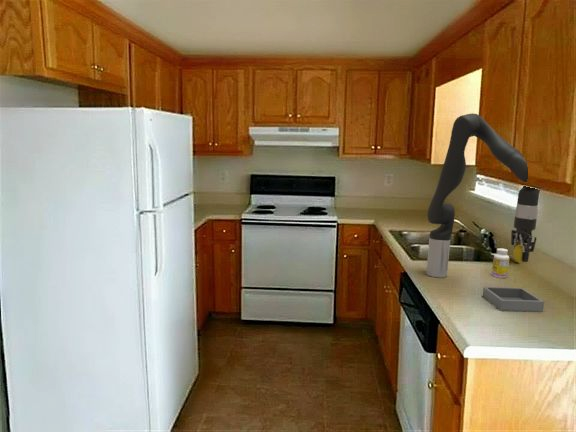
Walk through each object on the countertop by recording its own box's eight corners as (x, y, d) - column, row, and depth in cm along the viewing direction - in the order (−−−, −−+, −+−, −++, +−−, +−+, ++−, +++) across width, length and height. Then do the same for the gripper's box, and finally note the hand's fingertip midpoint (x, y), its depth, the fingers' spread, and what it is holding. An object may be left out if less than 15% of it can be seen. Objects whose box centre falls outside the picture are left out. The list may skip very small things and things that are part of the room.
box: (482, 296, 195) (483, 286, 195) (521, 297, 196) (522, 288, 195) (500, 310, 180) (501, 300, 179) (542, 311, 180) (544, 301, 180)
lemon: (529, 263, 187) (532, 243, 186) (525, 266, 183) (527, 245, 182) (515, 260, 191) (517, 240, 189) (510, 263, 187) (512, 242, 185)
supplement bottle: (490, 273, 230) (493, 247, 227) (504, 274, 229) (507, 248, 226) (493, 277, 223) (496, 250, 221) (508, 278, 222) (512, 251, 220)
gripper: (506, 213, 191) (501, 254, 193) (526, 219, 176) (520, 264, 179) (525, 213, 191) (520, 255, 194) (546, 220, 177) (540, 265, 180)
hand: (520, 259), depth 187 cm, fingers closed on lemon, 5 cm apart
